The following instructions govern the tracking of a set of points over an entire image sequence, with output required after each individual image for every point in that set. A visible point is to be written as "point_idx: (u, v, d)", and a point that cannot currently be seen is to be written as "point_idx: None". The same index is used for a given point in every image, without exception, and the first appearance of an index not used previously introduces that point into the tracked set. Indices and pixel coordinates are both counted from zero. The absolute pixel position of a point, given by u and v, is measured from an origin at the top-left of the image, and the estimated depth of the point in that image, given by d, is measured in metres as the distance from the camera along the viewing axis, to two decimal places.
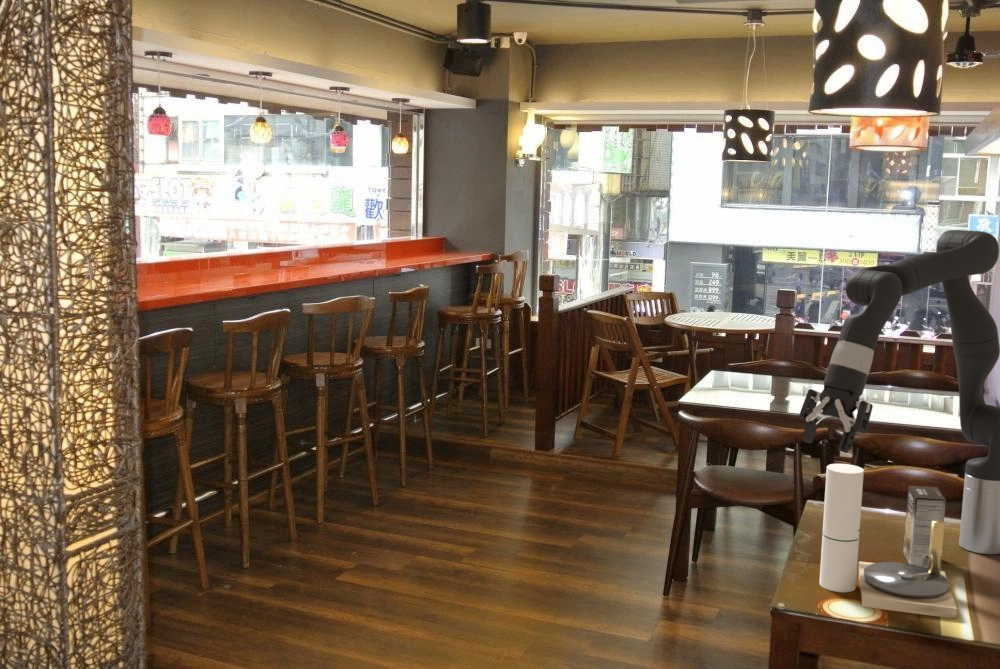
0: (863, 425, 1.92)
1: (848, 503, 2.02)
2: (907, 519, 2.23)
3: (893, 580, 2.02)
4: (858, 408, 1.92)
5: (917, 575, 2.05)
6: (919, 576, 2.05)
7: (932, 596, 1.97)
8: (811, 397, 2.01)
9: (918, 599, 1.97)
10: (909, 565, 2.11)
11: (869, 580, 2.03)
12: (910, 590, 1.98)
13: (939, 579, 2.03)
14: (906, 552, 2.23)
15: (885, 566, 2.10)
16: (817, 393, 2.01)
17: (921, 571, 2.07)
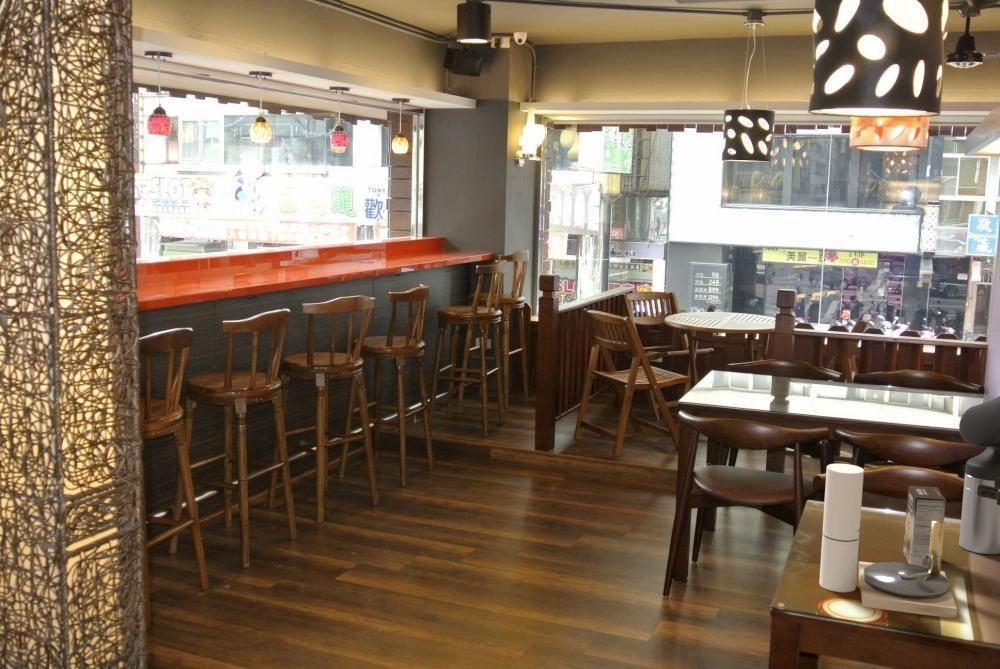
0: None
1: (848, 503, 2.02)
2: (907, 519, 2.23)
3: (893, 580, 2.02)
4: None
5: (917, 575, 2.05)
6: (919, 576, 2.05)
7: (932, 596, 1.97)
8: None
9: (918, 599, 1.97)
10: (909, 565, 2.11)
11: (869, 580, 2.03)
12: (910, 590, 1.98)
13: (939, 579, 2.03)
14: (906, 552, 2.23)
15: (885, 566, 2.10)
16: None
17: (921, 571, 2.07)
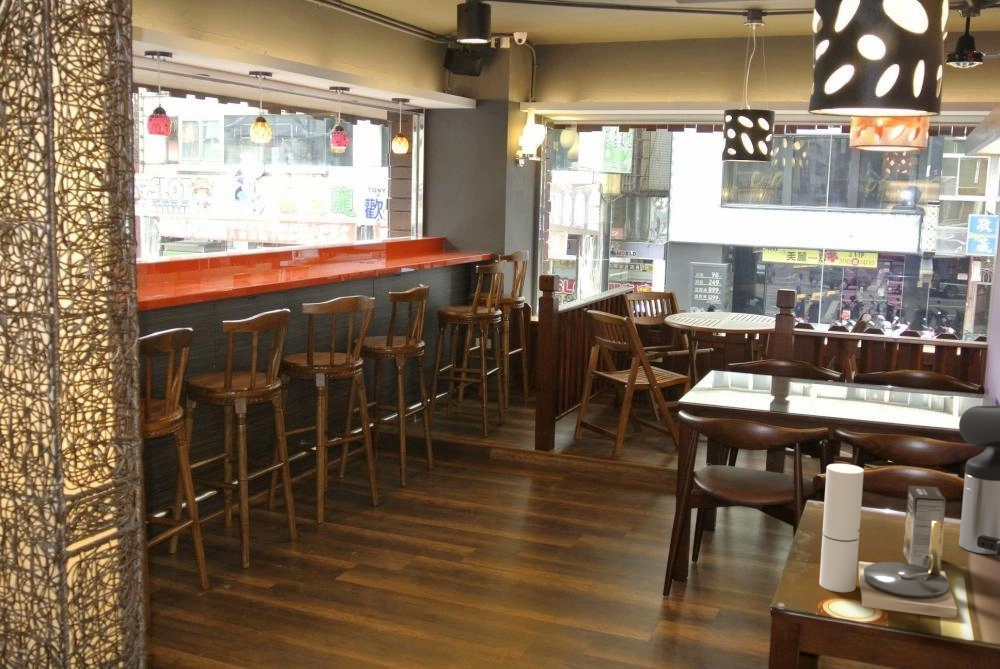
0: None
1: (848, 503, 2.02)
2: (907, 519, 2.23)
3: (893, 580, 2.02)
4: None
5: (917, 575, 2.05)
6: (919, 576, 2.05)
7: (932, 596, 1.97)
8: None
9: (918, 599, 1.97)
10: (909, 565, 2.11)
11: (869, 580, 2.03)
12: (910, 590, 1.98)
13: (939, 579, 2.03)
14: (906, 552, 2.23)
15: (885, 566, 2.10)
16: None
17: (921, 571, 2.07)
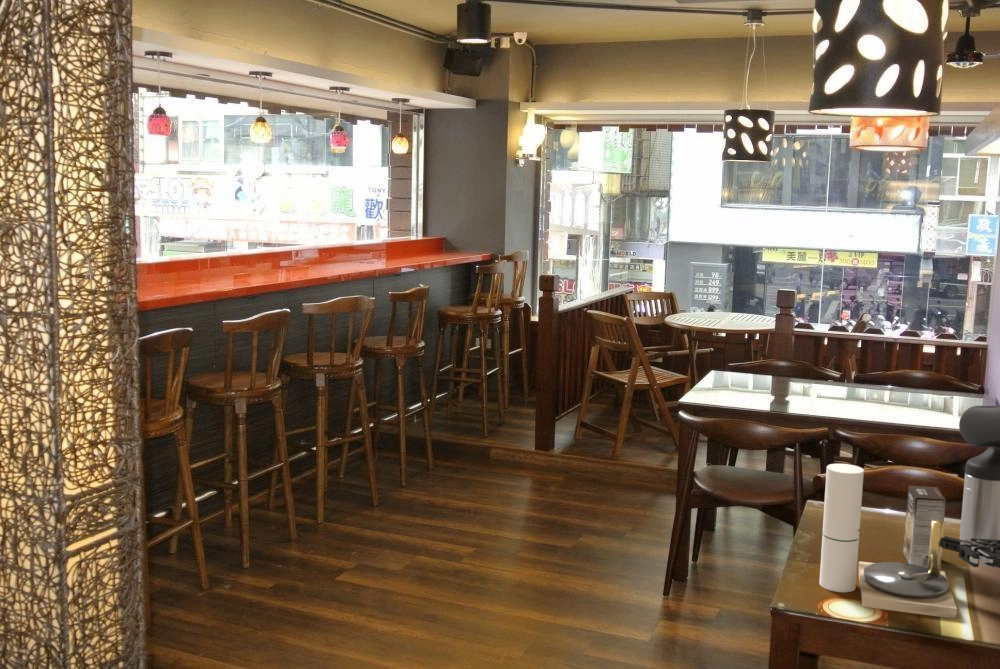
0: None
1: (848, 503, 2.02)
2: (907, 519, 2.23)
3: (893, 580, 2.02)
4: None
5: (917, 575, 2.05)
6: (919, 576, 2.05)
7: (932, 596, 1.97)
8: None
9: (918, 599, 1.97)
10: (909, 565, 2.11)
11: (869, 580, 2.03)
12: (910, 590, 1.97)
13: (939, 579, 2.03)
14: (906, 552, 2.23)
15: (885, 566, 2.10)
16: None
17: (921, 571, 2.07)
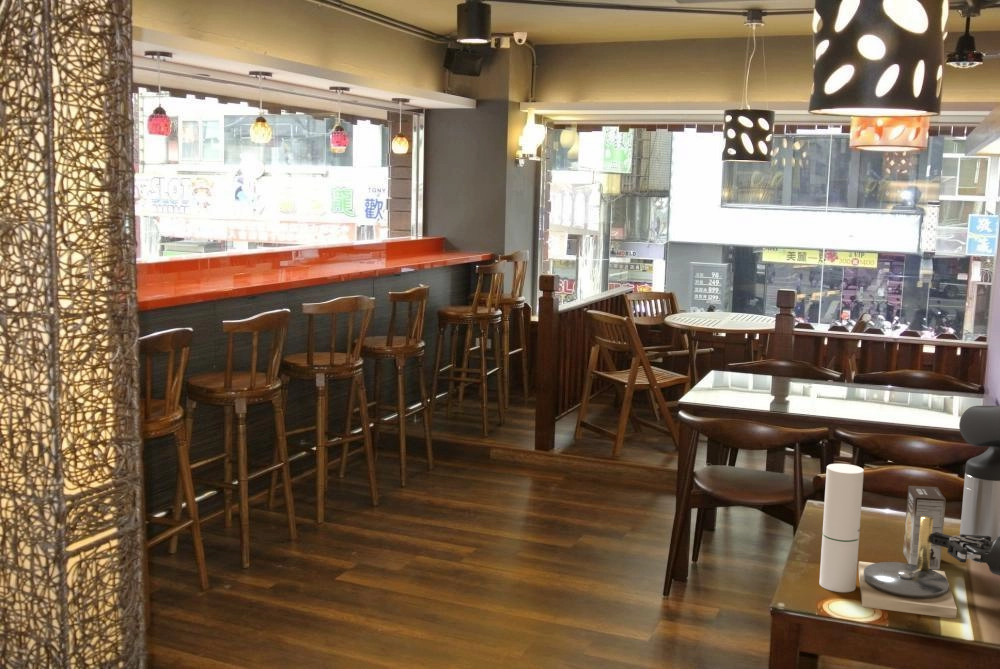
0: None
1: (848, 503, 2.02)
2: (907, 519, 2.23)
3: (900, 582, 2.01)
4: None
5: (913, 573, 2.06)
6: (915, 574, 2.06)
7: (943, 593, 1.99)
8: None
9: (918, 599, 1.97)
10: (895, 563, 2.11)
11: (880, 586, 2.00)
12: (925, 591, 1.97)
13: (934, 574, 2.06)
14: (906, 552, 2.23)
15: (878, 568, 2.09)
16: None
17: (911, 568, 2.09)
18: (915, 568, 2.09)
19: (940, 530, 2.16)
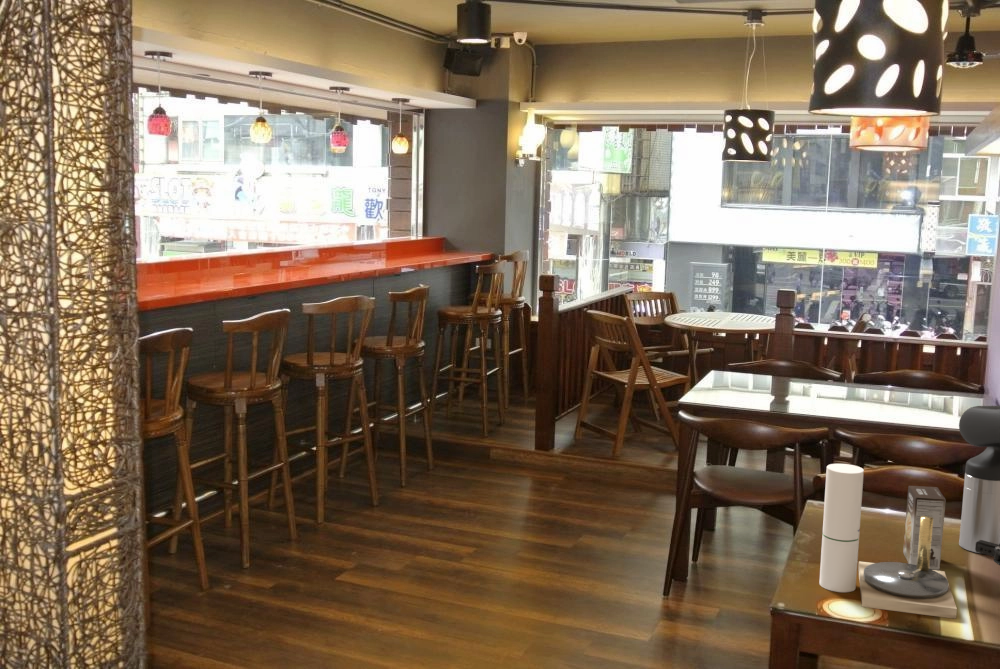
0: None
1: (848, 503, 2.02)
2: (907, 519, 2.23)
3: (900, 582, 2.01)
4: None
5: (913, 573, 2.06)
6: (915, 574, 2.06)
7: (943, 593, 1.99)
8: None
9: (918, 599, 1.97)
10: (895, 563, 2.11)
11: (880, 586, 2.00)
12: (925, 591, 1.97)
13: (934, 574, 2.06)
14: (906, 552, 2.23)
15: (878, 568, 2.09)
16: None
17: (911, 568, 2.09)
18: (915, 568, 2.09)
19: (940, 530, 2.16)
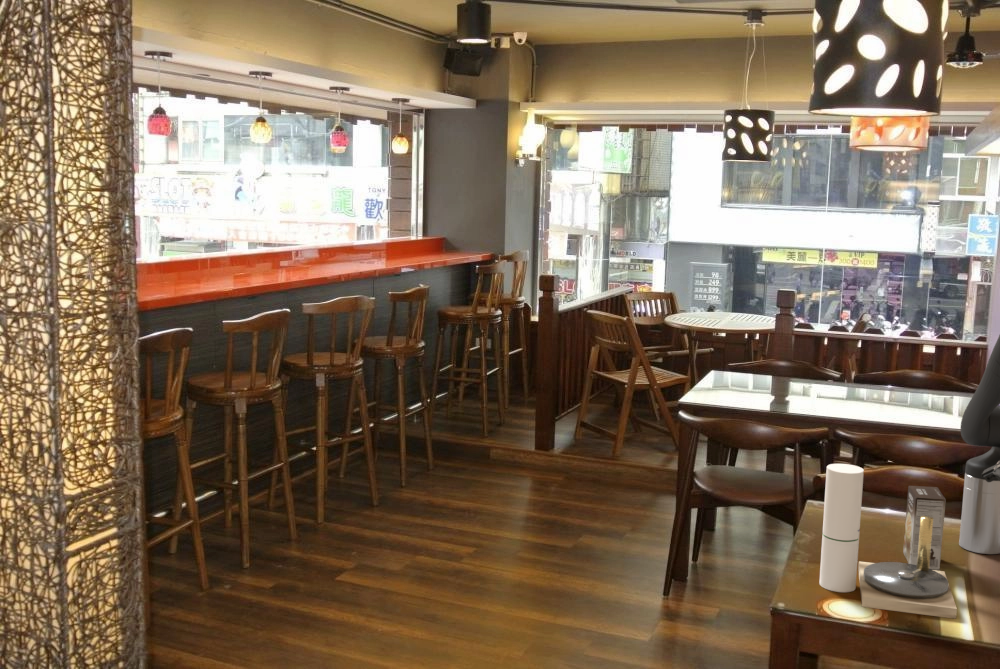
0: None
1: (848, 503, 2.02)
2: (907, 519, 2.23)
3: (900, 582, 2.01)
4: None
5: (913, 573, 2.06)
6: (915, 574, 2.06)
7: (943, 593, 1.99)
8: None
9: (918, 599, 1.97)
10: (895, 563, 2.11)
11: (880, 586, 2.00)
12: (925, 591, 1.97)
13: (934, 574, 2.06)
14: (906, 552, 2.23)
15: (878, 568, 2.09)
16: None
17: (911, 568, 2.09)
18: (915, 568, 2.09)
19: (940, 530, 2.16)
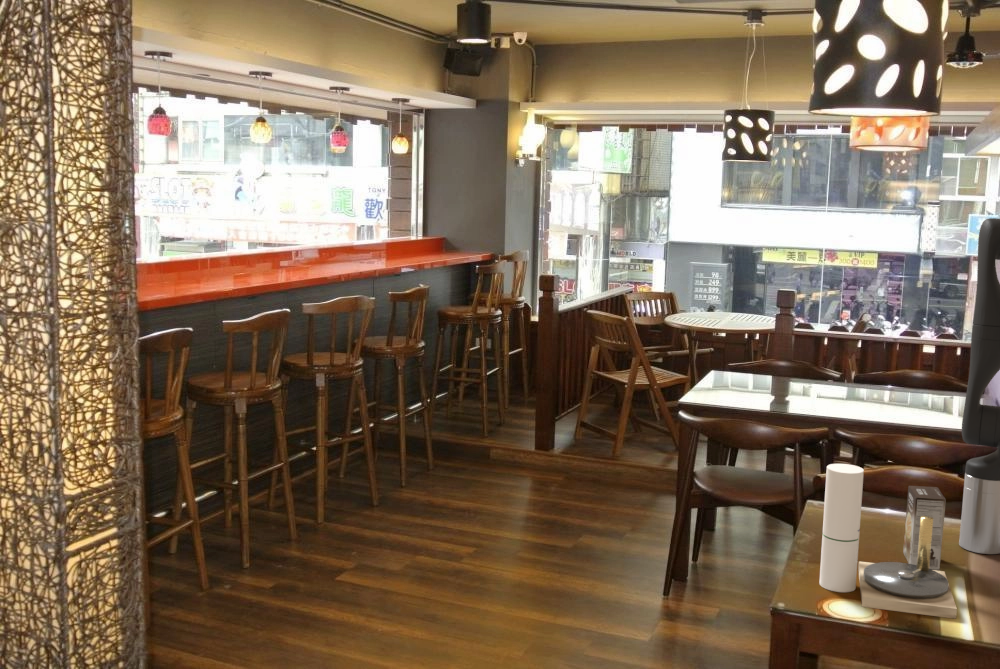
0: None
1: (848, 503, 2.02)
2: (907, 519, 2.23)
3: (900, 582, 2.01)
4: None
5: (913, 573, 2.06)
6: (915, 574, 2.06)
7: (943, 593, 1.99)
8: None
9: (918, 599, 1.97)
10: (895, 563, 2.11)
11: (880, 586, 2.00)
12: (925, 591, 1.97)
13: (934, 574, 2.06)
14: (906, 552, 2.23)
15: (878, 568, 2.09)
16: None
17: (911, 568, 2.09)
18: (915, 568, 2.09)
19: (940, 530, 2.16)
